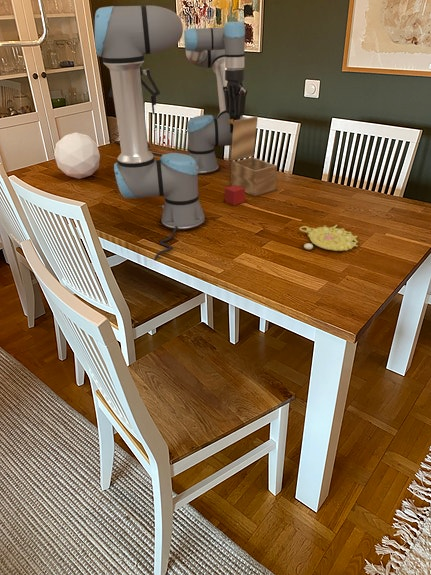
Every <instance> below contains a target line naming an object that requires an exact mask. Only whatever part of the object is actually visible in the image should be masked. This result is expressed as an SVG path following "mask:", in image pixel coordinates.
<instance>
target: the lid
mask: <svg viewBox="0 0 431 575" xmlns="http://www.w3.org/2000/svg"><path fill="white" fill-rule="evenodd" d="M228 123H229V124H233V137H232V146H231V152H230V162H234V161H239V160H243V159H247V158H251V157H254V153H255V147H256V146H255V145H256V137H257V136H256V135H257V129H258V128H257V127H258V116H251V117H246V118H245V119H242V118H240V120H234V122H233V119H230V120H228Z"/></svg>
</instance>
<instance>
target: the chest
mask: <svg viewBox="0 0 431 575" xmlns="http://www.w3.org/2000/svg"><path fill="white" fill-rule="evenodd" d="M230 162H231V165H230V166H231V167H230V168H231V173H230V174H231V177H230V178H231V186H233V185H238V186H240V187H243V188H245V194H249V195H251V196H253V197H256V196H260V195H263V194H267V193H270V192H274V191H276V190H277V187H276V186H277V172H278V166H277V165H276V164H273V163H270V162H267V161H265V160H263V159H259V158H257V157H254V156H252V157H248V158H243V159H239V160H235V161H230Z"/></svg>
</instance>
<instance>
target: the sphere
mask: <svg viewBox="0 0 431 575" xmlns="http://www.w3.org/2000/svg"><path fill="white" fill-rule="evenodd" d="M53 156H54V159H55V162H56V165H57V168H58V169H59V170H60V171H62V173H64V174H65V175H66V176H67V177H71V178H74V179H77V180H82V179H84V178H87V177H90V176H92V175H93V174H94V173H95V172H96V171H97V170H98V169H99V167H100V161H101V154H100V151H99V147H98V144H97V143H96V141H94V140H93V139H92V138H91V137H90V136H89V135H88V134H84V133H80V132H76V131H75V132H72V133H69V134H65V135H63V137H61V139H59V140H58V141H57V142H56V143H55V149H54V155H53Z"/></svg>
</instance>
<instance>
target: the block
mask: <svg viewBox="0 0 431 575" xmlns="http://www.w3.org/2000/svg"><path fill="white" fill-rule="evenodd" d="M224 202H225V203H228V204H229V205H232V206H237V205H240V204H243V203H245V202H246V192H245V188H243V187H240V186H238V185H233V186H232V185H230V186H227V187H225V188H224Z"/></svg>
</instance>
